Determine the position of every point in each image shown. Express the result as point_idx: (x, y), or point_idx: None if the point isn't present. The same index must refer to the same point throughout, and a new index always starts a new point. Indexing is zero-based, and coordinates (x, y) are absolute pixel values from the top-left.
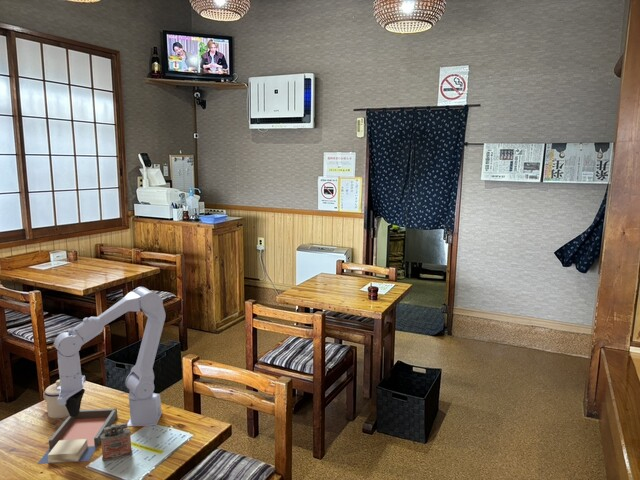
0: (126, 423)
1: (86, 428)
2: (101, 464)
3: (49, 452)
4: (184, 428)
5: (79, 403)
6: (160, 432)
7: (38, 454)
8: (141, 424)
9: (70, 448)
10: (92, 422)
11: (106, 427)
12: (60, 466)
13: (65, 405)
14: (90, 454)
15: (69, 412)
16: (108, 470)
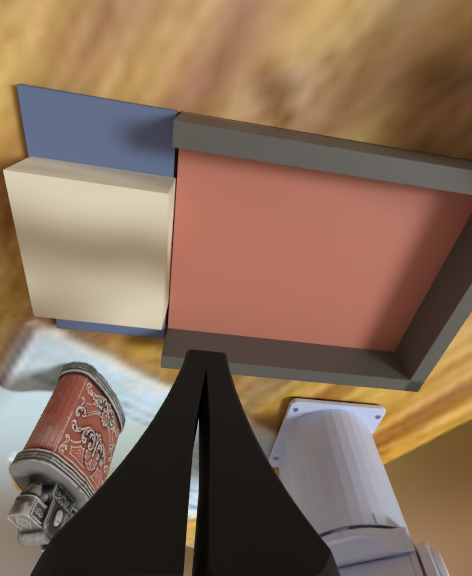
0: None
1: (341, 265)
2: (48, 363)
3: (134, 127)
4: None
5: (198, 500)
6: None
7: (136, 46)
8: (283, 437)
9: (75, 278)
10: (391, 280)
11: (28, 519)
12: None
13: (132, 451)
14: (104, 325)
15: (176, 381)
16: (15, 386)
